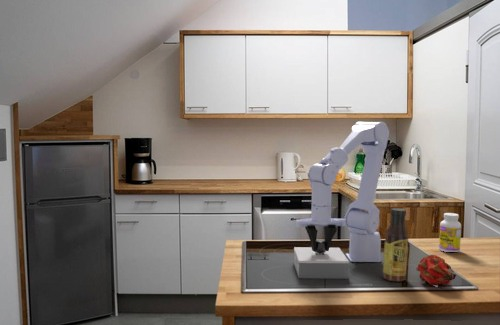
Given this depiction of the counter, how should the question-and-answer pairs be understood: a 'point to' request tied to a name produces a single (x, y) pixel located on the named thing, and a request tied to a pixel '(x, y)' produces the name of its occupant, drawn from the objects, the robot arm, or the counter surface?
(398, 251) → the sauce bottle
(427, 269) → the dragon fruit
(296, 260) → the slotted white block
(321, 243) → the plunger
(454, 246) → the supplement bottle
